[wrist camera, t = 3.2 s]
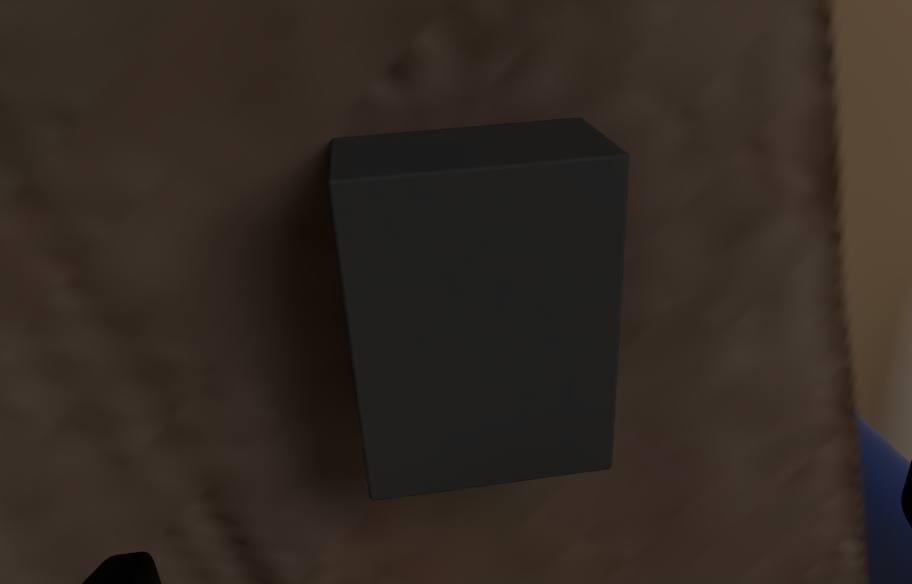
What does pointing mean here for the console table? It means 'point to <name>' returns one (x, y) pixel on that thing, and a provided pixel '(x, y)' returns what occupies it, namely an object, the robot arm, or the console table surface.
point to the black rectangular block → (481, 300)
